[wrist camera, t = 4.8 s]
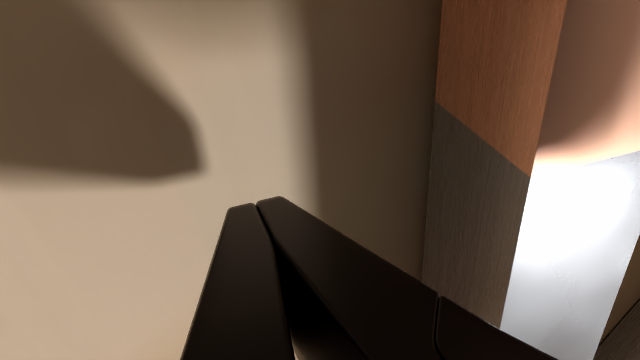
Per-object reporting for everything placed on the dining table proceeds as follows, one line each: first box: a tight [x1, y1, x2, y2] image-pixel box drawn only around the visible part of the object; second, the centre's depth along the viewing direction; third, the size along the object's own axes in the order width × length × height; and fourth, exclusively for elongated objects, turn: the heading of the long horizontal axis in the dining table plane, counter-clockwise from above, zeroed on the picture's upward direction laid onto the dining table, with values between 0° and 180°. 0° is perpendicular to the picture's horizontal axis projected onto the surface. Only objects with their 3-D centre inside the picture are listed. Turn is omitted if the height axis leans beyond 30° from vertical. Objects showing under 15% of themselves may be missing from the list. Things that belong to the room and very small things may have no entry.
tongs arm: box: [421, 0, 640, 360], centre depth 11 cm, size 17×2×3 cm, turn 4°
